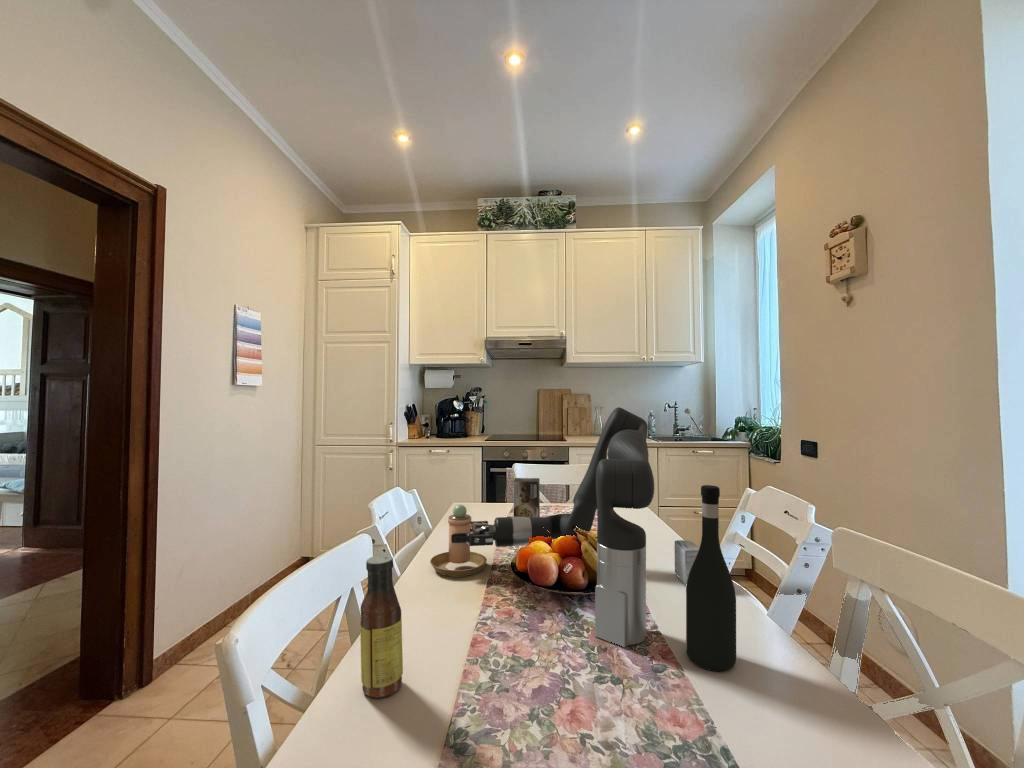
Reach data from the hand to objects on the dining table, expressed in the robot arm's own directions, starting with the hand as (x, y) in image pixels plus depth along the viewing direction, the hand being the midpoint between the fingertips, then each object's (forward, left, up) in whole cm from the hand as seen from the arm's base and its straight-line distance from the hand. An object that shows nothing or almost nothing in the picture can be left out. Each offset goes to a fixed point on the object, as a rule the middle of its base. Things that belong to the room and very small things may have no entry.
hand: (451, 533), depth 122 cm
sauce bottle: (-40, -29, -9) cm, 51 cm away
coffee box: (+45, +11, -9) cm, 47 cm away
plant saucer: (+2, -1, -10) cm, 10 cm away
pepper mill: (+2, -1, -7) cm, 7 cm away
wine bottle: (+2, -65, -9) cm, 66 cm away
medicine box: (+35, -49, -9) cm, 61 cm away
